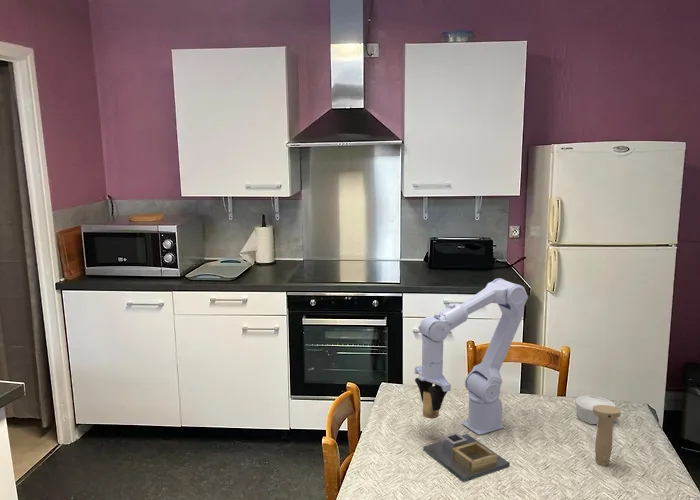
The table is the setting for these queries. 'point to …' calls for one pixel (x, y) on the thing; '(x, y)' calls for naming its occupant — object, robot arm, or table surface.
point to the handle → (604, 432)
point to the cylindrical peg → (428, 405)
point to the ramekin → (590, 407)
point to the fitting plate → (465, 456)
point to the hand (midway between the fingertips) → (431, 406)
